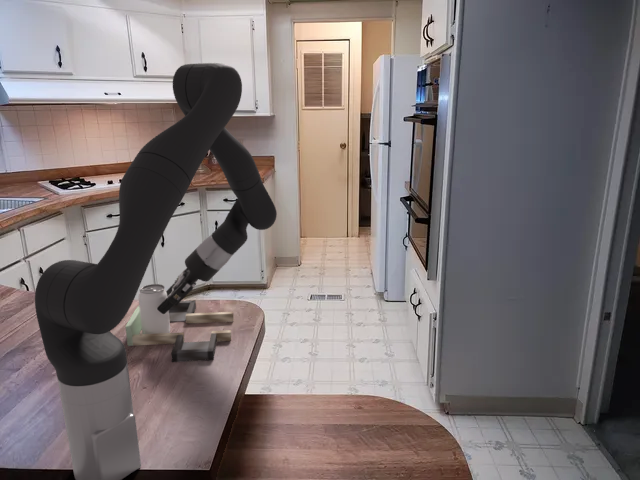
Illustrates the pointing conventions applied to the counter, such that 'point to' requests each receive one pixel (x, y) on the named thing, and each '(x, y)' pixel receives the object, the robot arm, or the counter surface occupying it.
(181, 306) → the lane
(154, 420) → the counter surface
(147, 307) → the can
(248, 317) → the counter surface
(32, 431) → the counter surface
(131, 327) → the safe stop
